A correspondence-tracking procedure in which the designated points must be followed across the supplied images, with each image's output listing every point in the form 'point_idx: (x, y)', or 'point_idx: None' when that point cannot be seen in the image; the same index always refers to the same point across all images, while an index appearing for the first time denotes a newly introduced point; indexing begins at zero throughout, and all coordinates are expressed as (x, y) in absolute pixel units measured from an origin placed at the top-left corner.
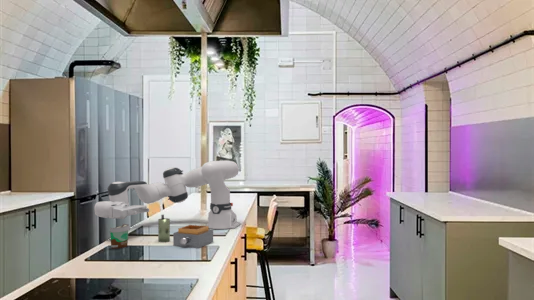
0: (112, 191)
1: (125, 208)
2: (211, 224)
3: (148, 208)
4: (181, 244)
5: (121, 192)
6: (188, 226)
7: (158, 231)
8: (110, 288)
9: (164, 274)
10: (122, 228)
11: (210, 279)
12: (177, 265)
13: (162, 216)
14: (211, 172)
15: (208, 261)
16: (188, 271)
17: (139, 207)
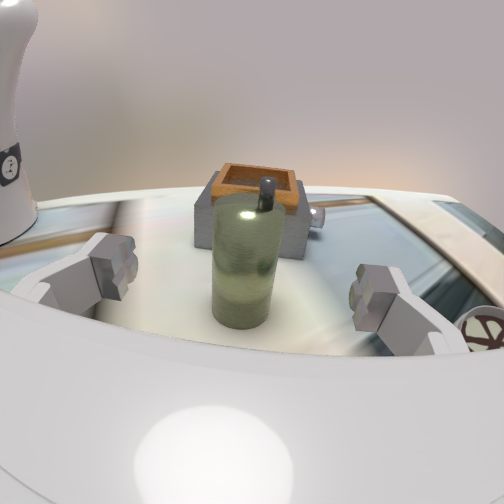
0: None
1: (471, 442)
2: (10, 225)
3: (102, 233)
4: (321, 228)
5: None
6: (236, 186)
7: (265, 284)
8: None
9: (457, 224)
10: (498, 314)
11: (424, 194)
12: (423, 220)
13: (274, 188)
14: (35, 24)
15: (374, 197)
16: (427, 208)
17: (73, 317)
